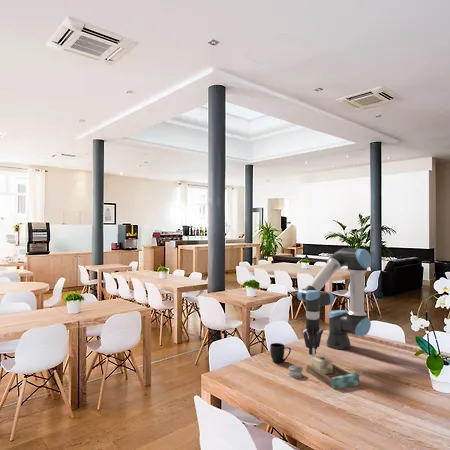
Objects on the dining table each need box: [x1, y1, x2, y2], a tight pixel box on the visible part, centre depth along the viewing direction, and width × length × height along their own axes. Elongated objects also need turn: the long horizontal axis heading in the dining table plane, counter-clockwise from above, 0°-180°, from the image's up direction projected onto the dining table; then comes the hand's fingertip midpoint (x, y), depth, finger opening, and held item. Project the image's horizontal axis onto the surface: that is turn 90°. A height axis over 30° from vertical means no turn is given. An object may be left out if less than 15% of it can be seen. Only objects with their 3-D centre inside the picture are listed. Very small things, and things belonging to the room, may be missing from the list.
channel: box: [305, 363, 360, 390], centre depth 190 cm, size 15×24×5 cm, turn 20°
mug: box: [269, 342, 292, 364], centre depth 213 cm, size 8×12×10 cm
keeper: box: [311, 355, 334, 375], centre depth 198 cm, size 8×7×8 cm
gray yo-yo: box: [288, 365, 304, 379], centre depth 193 cm, size 7×7×4 cm
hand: (312, 359), depth 206 cm, fingers closed
